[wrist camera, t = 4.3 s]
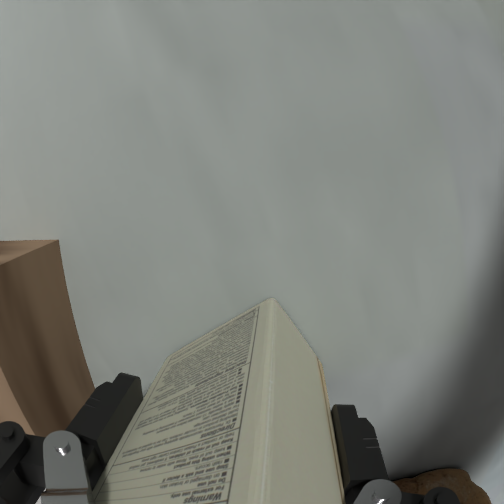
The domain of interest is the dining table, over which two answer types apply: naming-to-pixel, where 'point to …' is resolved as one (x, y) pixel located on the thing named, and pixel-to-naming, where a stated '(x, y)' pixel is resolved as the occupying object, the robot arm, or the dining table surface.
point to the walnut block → (38, 340)
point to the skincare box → (231, 423)
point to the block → (446, 485)
